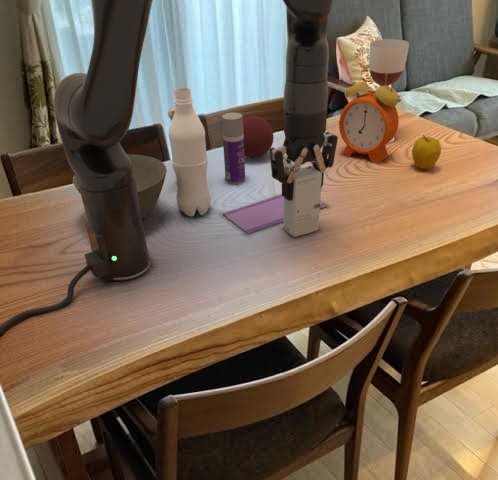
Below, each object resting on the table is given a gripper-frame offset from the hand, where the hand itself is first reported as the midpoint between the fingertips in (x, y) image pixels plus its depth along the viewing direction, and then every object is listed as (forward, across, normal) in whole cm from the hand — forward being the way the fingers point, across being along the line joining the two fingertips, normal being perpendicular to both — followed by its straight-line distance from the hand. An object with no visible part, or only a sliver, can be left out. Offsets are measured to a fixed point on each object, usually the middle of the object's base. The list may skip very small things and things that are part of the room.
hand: (302, 194), depth 104 cm
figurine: (+8, +9, -31) cm, 34 cm away
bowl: (+8, +27, -25) cm, 38 cm away
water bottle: (+8, +14, -19) cm, 25 cm away
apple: (+8, -41, -6) cm, 42 cm away
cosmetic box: (+8, 0, 0) cm, 8 cm away
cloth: (+8, 0, -9) cm, 12 cm away
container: (+8, -1, -27) cm, 29 cm away
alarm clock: (+8, -35, -20) cm, 41 cm away
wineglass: (+8, -46, -28) cm, 54 cm away
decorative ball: (+8, -12, -36) cm, 39 cm away
